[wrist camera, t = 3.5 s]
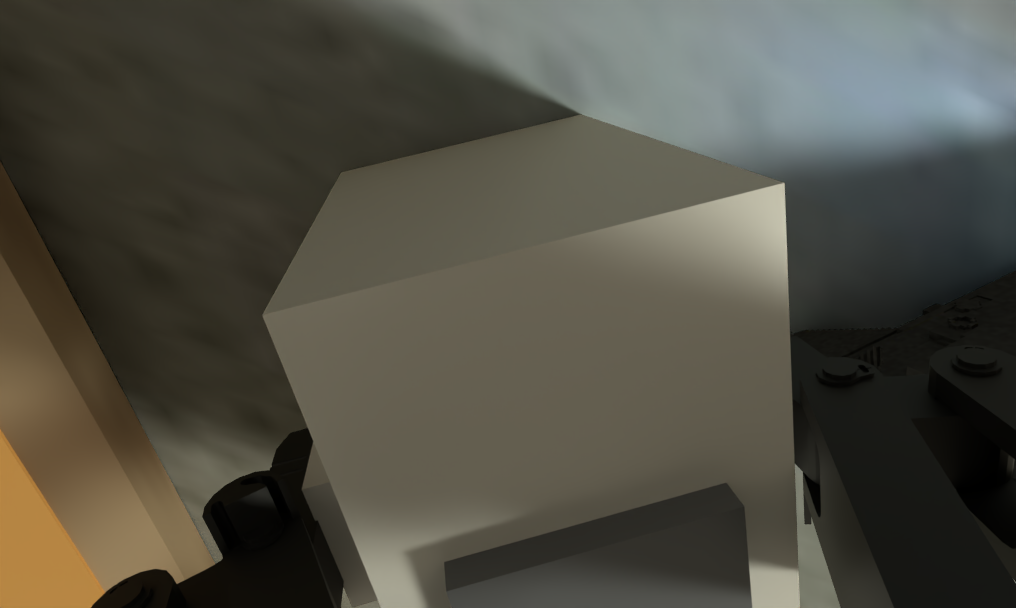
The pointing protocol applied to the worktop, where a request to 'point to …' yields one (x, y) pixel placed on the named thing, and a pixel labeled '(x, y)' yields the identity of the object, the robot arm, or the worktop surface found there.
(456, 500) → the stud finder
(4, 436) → the subfloor panel
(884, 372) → the gun
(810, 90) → the worktop surface
